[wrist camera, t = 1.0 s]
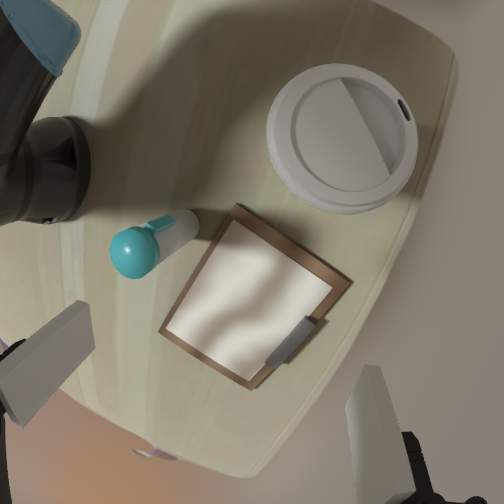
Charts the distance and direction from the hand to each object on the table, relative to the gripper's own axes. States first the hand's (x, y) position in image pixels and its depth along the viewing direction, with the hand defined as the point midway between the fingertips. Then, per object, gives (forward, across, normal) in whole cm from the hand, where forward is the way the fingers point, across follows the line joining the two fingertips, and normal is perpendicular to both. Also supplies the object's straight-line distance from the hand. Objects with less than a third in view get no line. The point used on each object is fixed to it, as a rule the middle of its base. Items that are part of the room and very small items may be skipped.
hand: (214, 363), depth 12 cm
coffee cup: (+21, +5, +11) cm, 24 cm away
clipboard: (+21, 0, -9) cm, 22 cm away
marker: (+21, -8, 0) cm, 23 cm away
